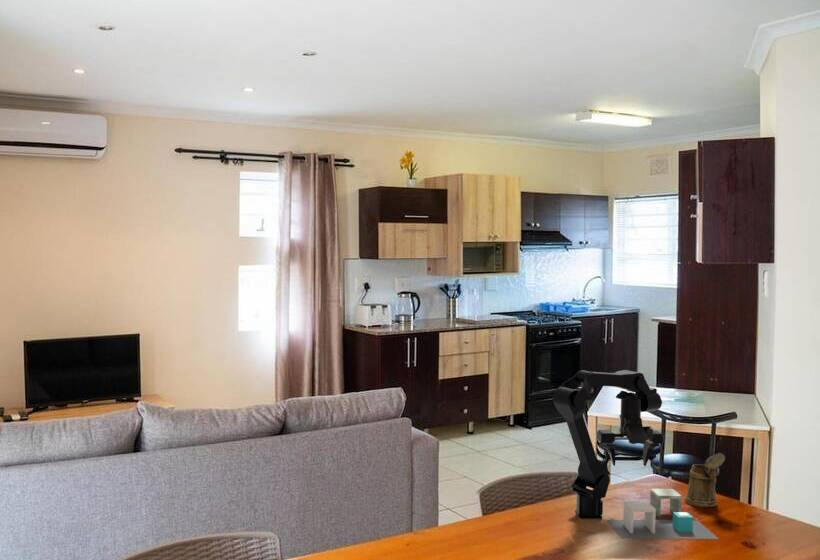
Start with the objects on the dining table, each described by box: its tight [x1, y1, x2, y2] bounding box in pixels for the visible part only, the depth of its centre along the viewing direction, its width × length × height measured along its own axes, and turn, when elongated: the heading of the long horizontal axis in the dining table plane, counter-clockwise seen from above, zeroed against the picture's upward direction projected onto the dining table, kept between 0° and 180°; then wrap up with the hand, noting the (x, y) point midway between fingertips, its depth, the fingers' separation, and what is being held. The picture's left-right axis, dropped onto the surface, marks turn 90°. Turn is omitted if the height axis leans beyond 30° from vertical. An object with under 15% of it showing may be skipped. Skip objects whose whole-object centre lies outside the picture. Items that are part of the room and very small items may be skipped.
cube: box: [672, 511, 694, 532], centre depth 207 cm, size 4×4×4 cm
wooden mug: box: [684, 451, 726, 508], centre depth 228 cm, size 9×14×18 cm, turn 10°
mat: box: [606, 519, 719, 540], centre depth 207 cm, size 26×14×1 cm, turn 91°
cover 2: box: [649, 488, 682, 518], centre depth 220 cm, size 7×7×6 cm
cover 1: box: [622, 500, 657, 533], centre depth 206 cm, size 7×7×6 cm
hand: (629, 465), depth 225 cm, fingers open, 9 cm apart
